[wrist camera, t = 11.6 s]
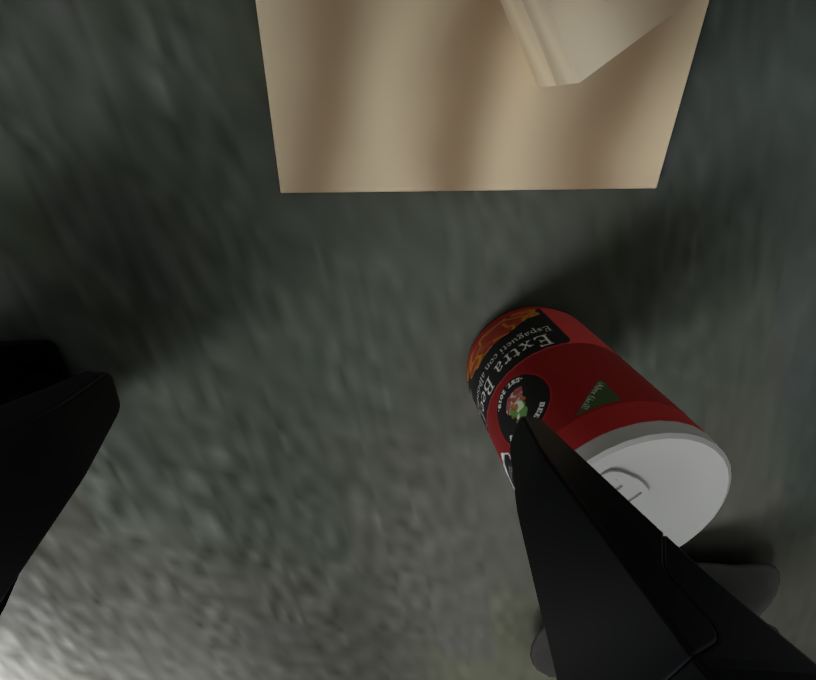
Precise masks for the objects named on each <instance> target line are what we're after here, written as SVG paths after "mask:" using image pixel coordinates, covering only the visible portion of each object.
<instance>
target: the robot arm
mask: <svg viewBox="0 0 816 680" xmlns="http://www.w3.org/2000/svg"><path fill="white" fill-rule="evenodd" d="M41 348H42V349H44V350H46V351H47V353H45V352H43V351H42V350H41ZM119 408H120V402H119V398H118V394H117V391H116V387H115V384H114V381H113V378H112V376H111V375H110V374H108V373H104V372H94V371H87V372H84V373H81V374H79V375H77V376H74V377H72V378H71V376H70V374H69V372H68V370H67V367H66V365H65V363H64V361H63V359H62V356H61V354H60V352H59V350H58V348H57V346H56V345H55V344H54V343H52V342H50V341H48V340H30V341H11V342H0V615H1V613H2V611H3V609H4V607H5V605H6V603H7V601H8V599H9V596H10V594H11V592H12V589H13V587H14V585H15V582H16V580H17V578H18V576H19V573H20V572H21V570H22V569H23V567H24V566H25V565H26V563H27V562H28V560H29V559H30V557H31V556H32V554H33V553H34V551H35V550H36V548H37V547H38V545H39V544H40V542H41V541H42V539H43V538H44V536H45V535H46V533H47V532H48V530H49V529H50V527H51V526H52V524H53V523H54V521H55V520H56V518H57V517H58V515H59V514H60V513H61V511H62V510H63V508H64V507H65V505H66V504H67V502H68V501H69V499H70V498H71V496H72V495H73V493H74V492H75V490H76V489H77V487H78V486H79V484H80V483H81V481H82V479H83V478H84V476H85V475H86V473H87V471H88V469H89V468H90V466H91V464H92V462H93V460H94V458H95V456H96V454H97V453H98V451H99V449H100V447H101V445H102V443H103V441H104V439H105V437H106V436H107V434H108V432H109V430H110V428H111V426H112V424H113V422H114V420H115V418H116V417H117V415H118V412H119ZM510 456H511V464H512V472H513V481H514V489H515V497H516V505H517V512H518V517H519V521H520V526H521V530H522V534H523V538H524V543H525V547H526V551H527V555H528V560H529V564H530V568H531V572H532V576H533V581H534V585H535V589H536V593H537V597H538V602H539V606H540V610H541V614H542V619H543V623H544V627H545V631H546V635H547V640H548V644H549V648H550V652H551V656H552V661H553V665H554V669H555V673H556V677H557V680H816V663H815V662H813V661H812V660H811V659H810V658H809V657H807V656H806V655H805V654H804V653H803V652H801V651H800V650H799V649H798V648H796V647H795V646H794V645H793V644H792V643H790V642H789V641H788V640H787V639H786V638H784V637H783V636H782V635H781V634H779V633H778V632H777V631H776V630H775V629H773V628H772V627H771V626H770V625H769V624H767V623H766V622H765V621H764V620H763V619H761V618H760V617H759V616H758V615H756V614H755V613H754V612H753V611H752V610H750V609H749V608H748V607H747V606H746V605H744V604H743V603H742V602H741V601H740V600H738V599H737V598H736V597H735V596H734V595H732V594H731V593H730V592H729V591H728V590H727V589H725V588H724V587H723V586H722V585H721V584H719V583H718V582H717V581H716V580H715V579H714V578H712V577H711V576H710V575H709V574H708V573H707V572H706V571H704V570H703V569H702V568H701V567H700V566H699V565H698V564H697V563H696V562H694V561H693V560H692V559H691V558H690V557H689V556H688V555H687V554H686V553H684V552H683V551H682V550H681V549H680V548H679V547H678V546H677V545H676V544H675V543H674V542H673V541H671V540H670V539H669V538H668V537H667V536H663V532H662V531H661V530H659V529H658V528H657V527H656V526H655V525H654V524H653V523H652V522H651V521H650V520H649V519H648V518H647V517H646V516H644V515H643V514H642V513H641V512H640V511H639V510H638V509H637V508H636V507H635V506H634V505H633V504H632V503H630V502H629V501H628V500H627V499H626V498H625V497H624V496H623V495H622V494H621V493H620V492H619V491H618V490H617V489H615V488H614V487H613V486H612V485H611V484H610V483H609V482H608V481H607V480H606V479H605V478H604V477H603V476H601V475H600V474H599V473H598V472H597V471H596V470H595V469H594V468H593V467H592V466H591V465H590V464H589V463H587V462H586V461H585V460H584V459H583V458H582V457H581V456H580V455H579V454H578V453H577V452H576V451H575V450H574V449H572V448H571V447H570V446H569V445H568V444H567V443H566V442H565V441H564V440H563V439H562V438H561V437H560V436H558V435H557V434H556V433H555V432H554V431H553V430H552V429H551V428H550V427H549V426H548V425H547V424H546V423H544V422H543V421H542V420H541V419H540V418H537V417H529V416H523V417H521V418H520V419H519V421H518V424H517V426H516V429H515V431H514V434H513V437H512V439H511V443H510Z"/></svg>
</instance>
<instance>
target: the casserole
mask: <svg viewBox="0 0 816 680" xmlns="http://www.w3.org/2000/svg"><path fill="white" fill-rule="evenodd" d="M697 564H698V565H699V566H700V567H701V568H702V569H703V570H704V571H706V572H707V573H708V574H709V575H710V576H711V577H712V578H714V579H715V580H716V581H717V582H718V583H719V584H721V585H722V586H723V587H724V588H725V589H727V590H728V591H729V592H730V593H731V594H732V595H734V596H735V597H736V598H737V599H738V600H740V601H741V602H742V603H743V604H744V605H746V606H747V607H748V608H749V609H750V610H752V611H753V612H754V613H755V614H756V615H758V616H760V615H761V614H762V613H763V612H764V611H765V610H766V609H767V607H768V606H769V605H770V603H771V602H772V600H773V599H774V597H775V595H776V593H777V590H778V586H779V582H780V578H779V571H778V570H777V568H776V567H775V566H773V565H770V564H768V563H748V564H740V565H727V564H716V563H704V562H700V563H697ZM769 625H770V624H769ZM770 626H771V625H770ZM771 627H772V628H773V629H775V630H776V631H777V632H778V633H779V631H778V630H777V629H776V628H775V627H773V626H771ZM779 634H780V633H779ZM530 656H531V660H532V663H533V665H534V666H535V667H536V668H537V670H539V671H540V672H542V673H544V674H546V675H547V676H549V677H556V673H555V669H554V665H553V661H552V656H551V652H550V648H549V644H548V640H547V635H546V631H545V627H544V626H543V627H542V629H541V630H540V631H539V633H538V634H537V635H536V637H535V639H534V641H533V643H532V646H531V653H530Z"/></svg>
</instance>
